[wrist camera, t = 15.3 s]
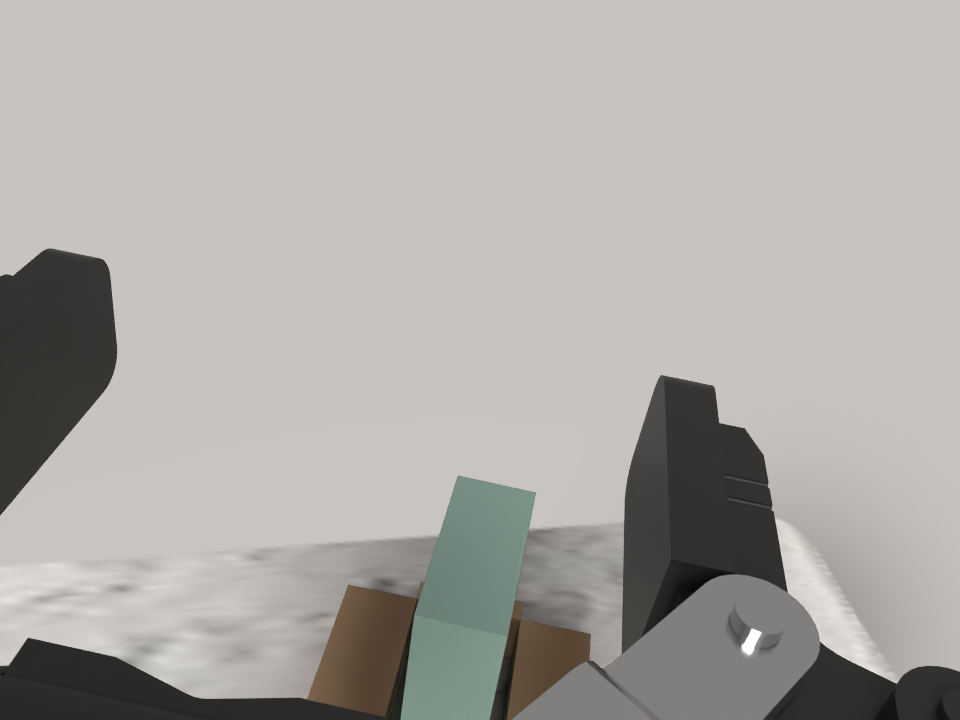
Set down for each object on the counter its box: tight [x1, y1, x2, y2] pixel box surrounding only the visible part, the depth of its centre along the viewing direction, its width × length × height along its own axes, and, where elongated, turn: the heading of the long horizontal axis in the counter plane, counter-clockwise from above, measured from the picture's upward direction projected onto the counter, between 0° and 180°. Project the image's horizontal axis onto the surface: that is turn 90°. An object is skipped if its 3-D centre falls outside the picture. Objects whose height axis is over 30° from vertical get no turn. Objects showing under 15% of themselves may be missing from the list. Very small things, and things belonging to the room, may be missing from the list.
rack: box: [307, 582, 591, 720], centre depth 37 cm, size 10×9×2 cm
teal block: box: [400, 476, 536, 720], centre depth 34 cm, size 3×7×10 cm, turn 169°
